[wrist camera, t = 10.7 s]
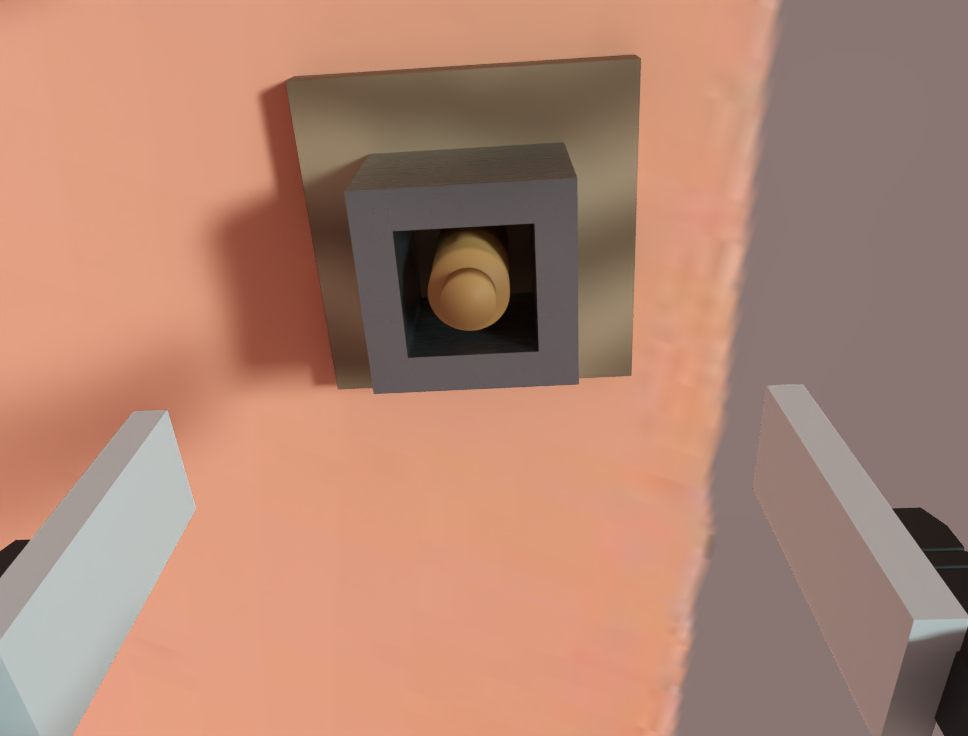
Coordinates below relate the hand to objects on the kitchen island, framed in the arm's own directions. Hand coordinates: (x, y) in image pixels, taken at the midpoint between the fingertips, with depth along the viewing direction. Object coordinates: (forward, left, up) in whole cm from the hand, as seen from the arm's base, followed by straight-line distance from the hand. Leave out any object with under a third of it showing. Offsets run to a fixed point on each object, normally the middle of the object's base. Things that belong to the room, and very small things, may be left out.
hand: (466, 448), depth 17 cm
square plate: (+1, 0, -19) cm, 19 cm away
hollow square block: (+1, 0, -18) cm, 18 cm away
